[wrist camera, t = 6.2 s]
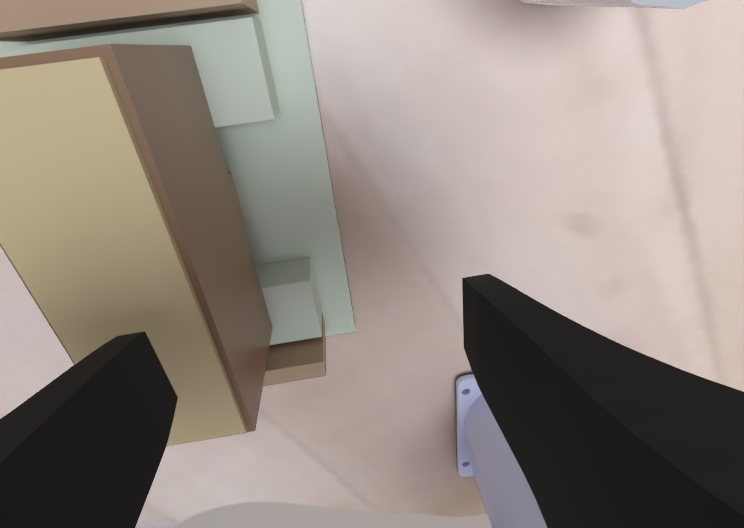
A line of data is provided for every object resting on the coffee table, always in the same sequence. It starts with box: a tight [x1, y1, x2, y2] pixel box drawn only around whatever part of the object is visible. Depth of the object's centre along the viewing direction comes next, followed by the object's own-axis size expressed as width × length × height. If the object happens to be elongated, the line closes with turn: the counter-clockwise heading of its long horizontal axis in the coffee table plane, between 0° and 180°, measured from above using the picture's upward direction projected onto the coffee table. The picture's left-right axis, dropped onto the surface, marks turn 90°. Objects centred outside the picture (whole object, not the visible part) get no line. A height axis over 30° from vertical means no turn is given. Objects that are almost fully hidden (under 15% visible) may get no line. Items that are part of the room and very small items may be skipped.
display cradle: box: [0, 0, 356, 386], centre depth 16 cm, size 16×11×4 cm
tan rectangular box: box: [0, 44, 273, 446], centre depth 13 cm, size 11×4×6 cm, turn 6°
